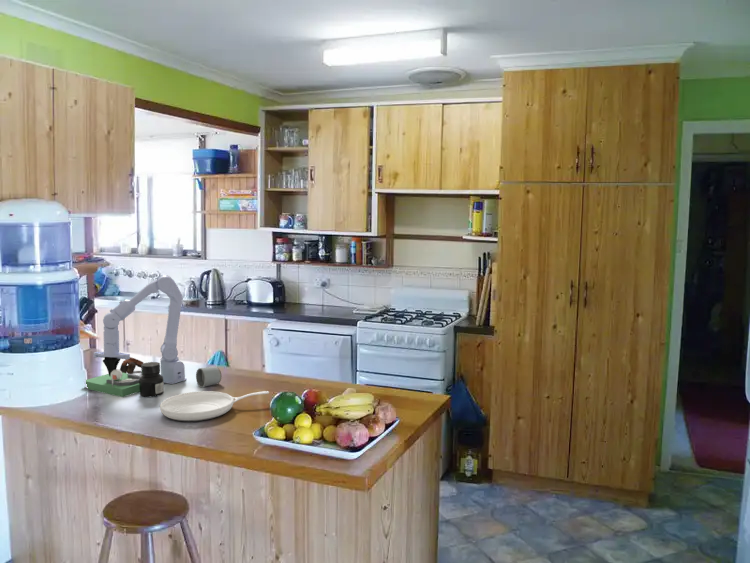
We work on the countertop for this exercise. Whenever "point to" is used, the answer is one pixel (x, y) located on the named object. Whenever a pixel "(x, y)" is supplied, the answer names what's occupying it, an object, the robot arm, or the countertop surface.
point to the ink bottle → (151, 380)
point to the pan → (199, 405)
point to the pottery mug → (130, 365)
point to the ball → (117, 373)
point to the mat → (115, 384)
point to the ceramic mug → (208, 376)
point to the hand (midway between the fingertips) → (111, 375)
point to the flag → (113, 378)
